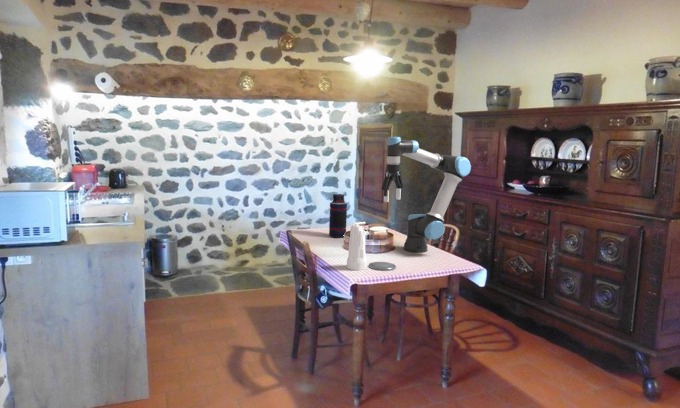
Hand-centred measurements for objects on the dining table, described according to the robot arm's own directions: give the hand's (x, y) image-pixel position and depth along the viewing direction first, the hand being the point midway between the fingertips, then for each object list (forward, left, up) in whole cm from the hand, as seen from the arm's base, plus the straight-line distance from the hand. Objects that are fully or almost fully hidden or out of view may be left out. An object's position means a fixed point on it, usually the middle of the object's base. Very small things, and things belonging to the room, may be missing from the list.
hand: (392, 200), depth 281 cm
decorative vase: (+28, -4, -35) cm, 45 cm away
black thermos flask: (-27, -60, -35) cm, 75 cm away
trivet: (+17, +6, -35) cm, 39 cm away
